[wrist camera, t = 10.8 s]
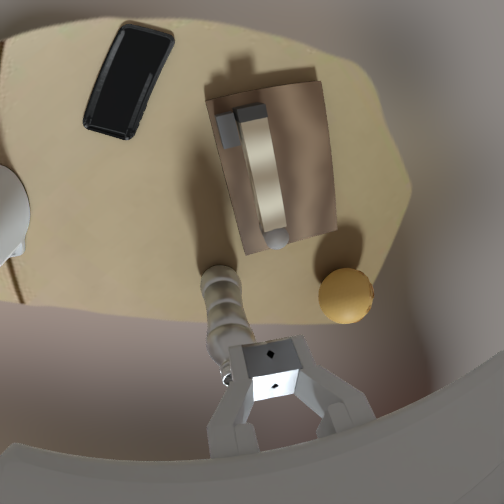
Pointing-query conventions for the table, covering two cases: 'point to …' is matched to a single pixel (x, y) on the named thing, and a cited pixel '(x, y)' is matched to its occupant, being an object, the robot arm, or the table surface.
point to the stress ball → (346, 295)
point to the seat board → (281, 160)
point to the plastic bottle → (224, 316)
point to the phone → (127, 81)
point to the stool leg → (262, 172)
